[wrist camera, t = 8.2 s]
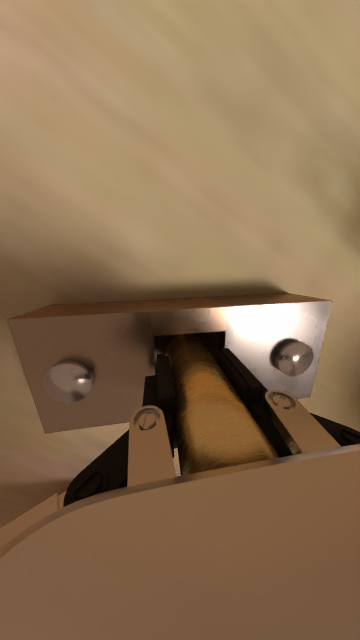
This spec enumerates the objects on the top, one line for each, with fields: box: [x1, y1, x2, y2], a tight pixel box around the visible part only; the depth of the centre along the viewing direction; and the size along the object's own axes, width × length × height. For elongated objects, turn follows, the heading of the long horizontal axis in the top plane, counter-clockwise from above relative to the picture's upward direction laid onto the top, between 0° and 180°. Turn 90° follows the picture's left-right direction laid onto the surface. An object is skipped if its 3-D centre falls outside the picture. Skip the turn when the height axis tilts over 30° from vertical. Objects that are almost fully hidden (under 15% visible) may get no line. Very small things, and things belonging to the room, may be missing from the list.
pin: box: [166, 334, 280, 476], centre depth 9 cm, size 3×3×10 cm
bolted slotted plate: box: [7, 293, 332, 434], centre depth 13 cm, size 20×8×5 cm, turn 92°
